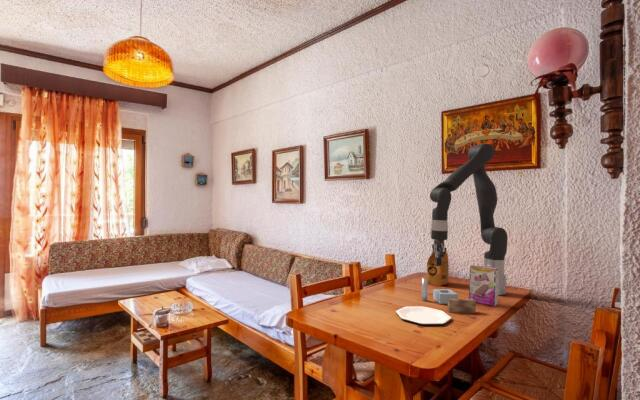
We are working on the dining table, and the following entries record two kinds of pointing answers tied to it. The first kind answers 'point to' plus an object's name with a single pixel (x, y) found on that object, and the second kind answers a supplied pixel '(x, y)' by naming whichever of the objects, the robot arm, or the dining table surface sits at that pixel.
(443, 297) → the block
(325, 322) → the dining table surface
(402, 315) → the plate
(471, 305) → the wall
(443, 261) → the coffee package
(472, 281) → the candy bar box
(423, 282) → the dowel
